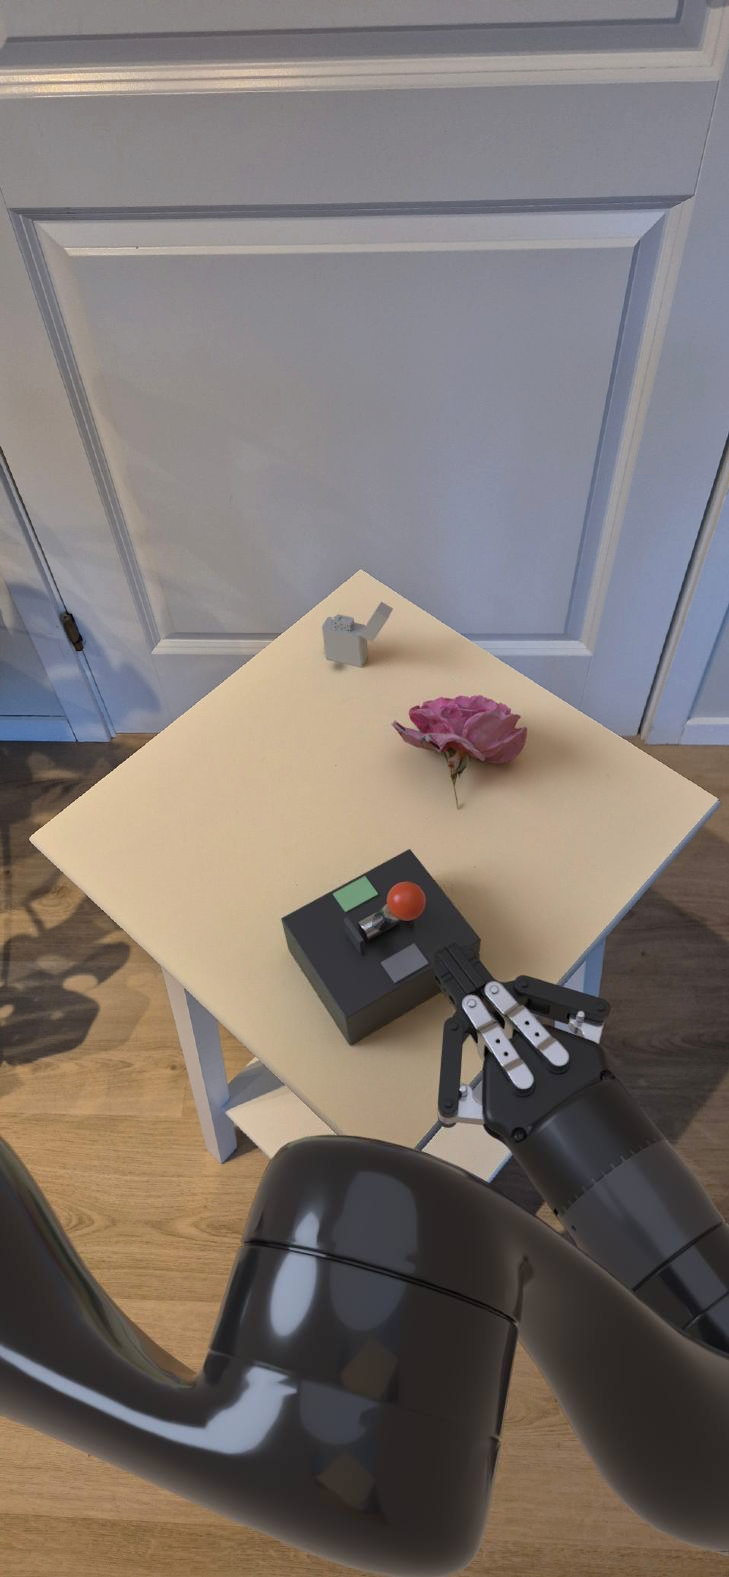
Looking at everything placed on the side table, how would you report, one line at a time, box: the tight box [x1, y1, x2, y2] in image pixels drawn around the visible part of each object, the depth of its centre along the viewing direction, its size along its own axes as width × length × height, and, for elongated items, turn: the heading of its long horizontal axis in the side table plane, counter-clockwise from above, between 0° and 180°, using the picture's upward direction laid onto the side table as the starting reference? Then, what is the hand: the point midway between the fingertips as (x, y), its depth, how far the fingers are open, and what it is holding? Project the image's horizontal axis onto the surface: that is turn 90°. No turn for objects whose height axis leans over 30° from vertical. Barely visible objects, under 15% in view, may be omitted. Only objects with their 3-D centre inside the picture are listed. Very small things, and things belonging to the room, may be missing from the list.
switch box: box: [280, 848, 482, 1046], centre depth 78 cm, size 12×10×7 cm
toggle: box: [357, 882, 426, 941], centre depth 71 cm, size 3×3×12 cm
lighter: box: [321, 601, 394, 668], centre depth 99 cm, size 7×2×8 cm, turn 69°
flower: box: [390, 694, 528, 810], centre depth 90 cm, size 11×10×10 cm
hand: (443, 952), depth 65 cm, fingers closed
